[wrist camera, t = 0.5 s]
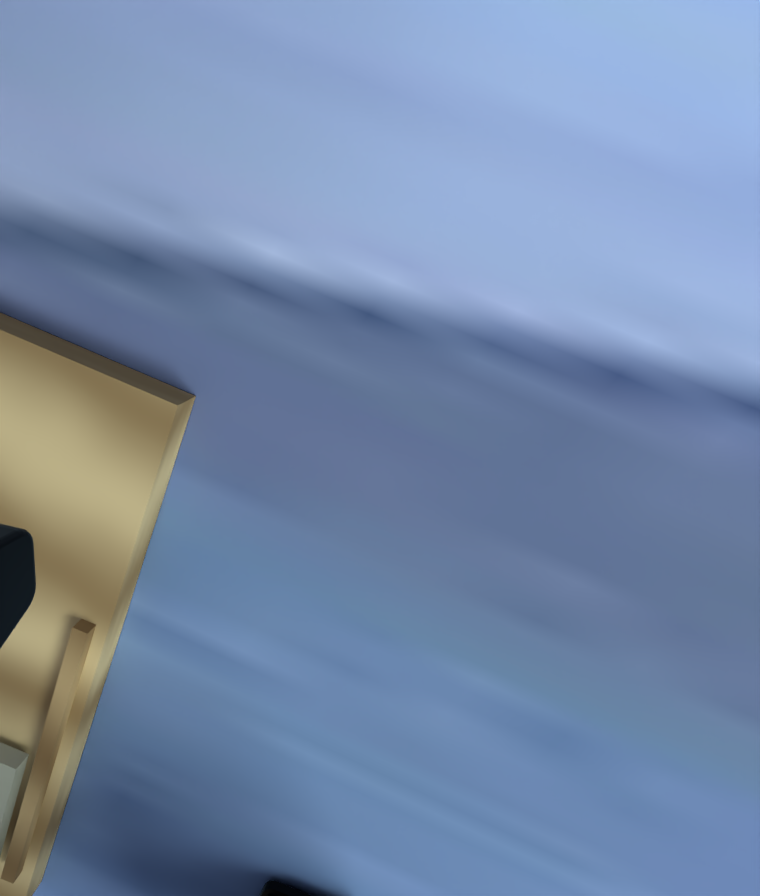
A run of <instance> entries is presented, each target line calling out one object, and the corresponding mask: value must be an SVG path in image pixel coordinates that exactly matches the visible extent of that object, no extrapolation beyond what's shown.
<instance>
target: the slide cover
mask: <svg viewBox="0 0 760 896" xmlns="http://www.w3.org/2000/svg"><path fill="white" fill-rule="evenodd" d="M28 756H29V754H27V753H25V752H23V751H20V750H18V749H15V748H13V747H11V746H8V745H6V744H4V743H1V742H0V855H1V852H2V848H3V845H4V841H5V838H6V834H7V831H8V827H9V824H10V820H11V816H12V813H13V809H14V806H15V802H16V799H17V795H18V792H19V788H20V785H21V781H22V777H23V774H24V770H25V767H26V763H27V760H28Z"/></svg>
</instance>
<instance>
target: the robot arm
mask: <svg viewBox="0 0 760 896" xmlns="http://www.w3.org/2000/svg"><path fill="white" fill-rule="evenodd" d="M35 590H36V575H35V558H34V543H33V538H32V536H31V534H30V533H29V532H28V531H27V530H25V529H22V528H18V527H14V526H10V525H5V524H1V523H0V649H1V647H2V646H3V644H4V643H5V641H6V640H7V639H8V637H9V636H10V634H11V633H12V631H13V630H14V628H15V627H16V625H17V624H18V623H19V621H20V620H21V618H22V617H23V615H24V614H25V612H26V611H27V609H28V608H29V606H30V605H31V602H32V600H33V598H34V595H35ZM260 896H311V895H309V894H306V893H304V892H302V891H299V890H297V889H294V888H292V887H290V886H287V885H285V884H283V883H280V882H277V881H269V882H267V883H266V884H265V885H264V887H263V889H262V892H261V894H260Z"/></svg>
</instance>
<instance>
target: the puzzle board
mask: <svg viewBox="0 0 760 896" xmlns="http://www.w3.org/2000/svg"><path fill="white" fill-rule="evenodd" d="M195 397H196V396H194V395H192V394H189V393H187V392H185V391H182V390H180V389H178V388H175V387H173V386H171V385H168V384H166V383H164V382H161V381H159V380H157V379H154V378H152V377H150V376H147V375H145V374H143V373H140V372H138V371H136V370H133V369H131V368H129V367H126V366H124V365H122V364H119V363H117V362H115V361H112V360H110V359H108V358H105V357H103V356H101V355H98V354H96V353H94V352H91V351H89V350H87V349H84V348H82V347H80V346H77V345H75V344H73V343H70V342H68V341H66V340H63V339H61V338H59V337H56V336H54V335H52V334H49V333H47V332H44V331H42V330H40V329H37V328H35V327H33V326H30V325H28V324H26V323H23V322H21V321H19V320H16V319H14V318H12V317H9V316H7V315H5V314H2V313H0V523H1V524H5V525H10V526H14V527H18V528H22V529H25V530H27V531H28V532H29V533H30V534H31V536H32V538H33V543H34V558H35V575H36V590H35V595H34V598H33V600H32V602H31V605H30V606H29V608H28V609H27V611H26V612H25V614H24V615H23V617H22V618H21V620H20V621H19V623H18V624H17V625H16V627H15V628H14V630H13V631H12V633H11V634H10V636H9V637H8V639H7V640H6V641H5V643H4V644H3V646H2V647H1V649H0V742H1V743H4V744H6V745H8V746H11V747H13V748H15V749H18V750H20V751H23V752H25V753H27V754H29V756H28V760H27V763H26V767H25V770H24V774H23V777H22V781H21V785H20V788H19V792H18V795H17V799H16V802H15V806H14V809H13V813H12V816H11V820H10V824H9V827H8V831H7V834H6V838H5V841H4V845H3V848H2V852H1V855H0V896H32V895H33V893H34V892H35V890H36V889H37V887H38V886H39V884H40V883H41V881H42V878H43V875H44V872H45V869H46V866H47V863H48V859H49V856H50V853H51V850H52V847H53V844H54V841H55V837H56V834H57V831H58V828H59V825H60V822H61V819H62V815H63V812H64V809H65V806H66V803H67V800H68V796H69V793H70V790H71V787H72V784H73V781H74V778H75V774H76V771H77V768H78V765H79V762H80V759H81V756H82V752H83V749H84V746H85V743H86V740H87V737H88V734H89V730H90V727H91V724H92V721H93V718H94V715H95V712H96V708H97V705H98V702H99V699H100V696H101V693H102V690H103V686H104V683H105V680H106V677H107V674H108V671H109V668H110V664H111V661H112V658H113V655H114V652H115V649H116V645H117V642H118V639H119V636H120V633H121V630H122V627H123V623H124V620H125V617H126V614H127V611H128V608H129V605H130V601H131V598H132V595H133V592H134V589H135V586H136V583H137V579H138V576H139V573H140V570H141V567H142V564H143V561H144V557H145V554H146V551H147V548H148V545H149V542H150V539H151V535H152V532H153V529H154V526H155V523H156V520H157V516H158V513H159V510H160V507H161V504H162V501H163V498H164V494H165V491H166V488H167V485H168V482H169V479H170V476H171V472H172V469H173V466H174V463H175V460H176V457H177V454H178V450H179V447H180V444H181V441H182V438H183V435H184V432H185V428H186V425H187V422H188V419H189V416H190V413H191V410H192V406H193V403H194V400H195Z"/></svg>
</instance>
